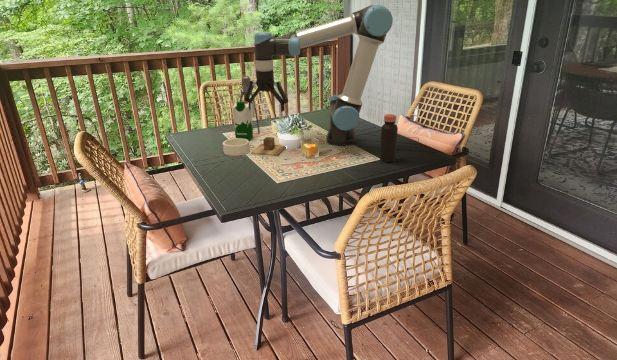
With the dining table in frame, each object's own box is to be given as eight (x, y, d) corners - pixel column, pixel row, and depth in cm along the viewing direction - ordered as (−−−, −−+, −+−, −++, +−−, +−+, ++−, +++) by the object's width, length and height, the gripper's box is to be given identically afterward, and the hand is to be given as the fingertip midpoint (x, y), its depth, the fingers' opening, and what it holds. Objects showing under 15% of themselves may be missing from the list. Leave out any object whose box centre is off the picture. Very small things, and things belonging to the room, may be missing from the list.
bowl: (253, 149, 200) (252, 139, 198) (243, 157, 190) (242, 147, 188) (230, 147, 203) (229, 137, 201) (219, 155, 193) (218, 145, 191)
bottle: (385, 156, 187) (388, 112, 179) (398, 160, 183) (401, 115, 175) (376, 160, 183) (378, 115, 175) (389, 164, 178) (392, 118, 171)
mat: (289, 147, 201) (289, 146, 201) (279, 158, 188) (279, 157, 188) (260, 145, 205) (260, 144, 205) (248, 155, 192) (248, 154, 191)
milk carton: (234, 142, 211) (230, 103, 203) (238, 137, 219) (235, 99, 211) (251, 142, 210) (248, 103, 202) (255, 137, 218) (252, 99, 210)
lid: (286, 147, 200) (286, 135, 198) (278, 156, 189) (277, 143, 186) (261, 145, 203) (260, 133, 201) (251, 154, 192) (250, 141, 190)
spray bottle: (259, 133, 224) (255, 77, 212) (238, 134, 224) (233, 77, 212) (261, 128, 233) (258, 73, 221) (241, 129, 233) (237, 74, 221)
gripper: (294, 69, 182) (295, 117, 190) (241, 67, 188) (244, 114, 196) (289, 72, 175) (290, 121, 183) (234, 70, 181) (238, 118, 190)
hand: (267, 117), depth 190 cm, fingers open, 13 cm apart
